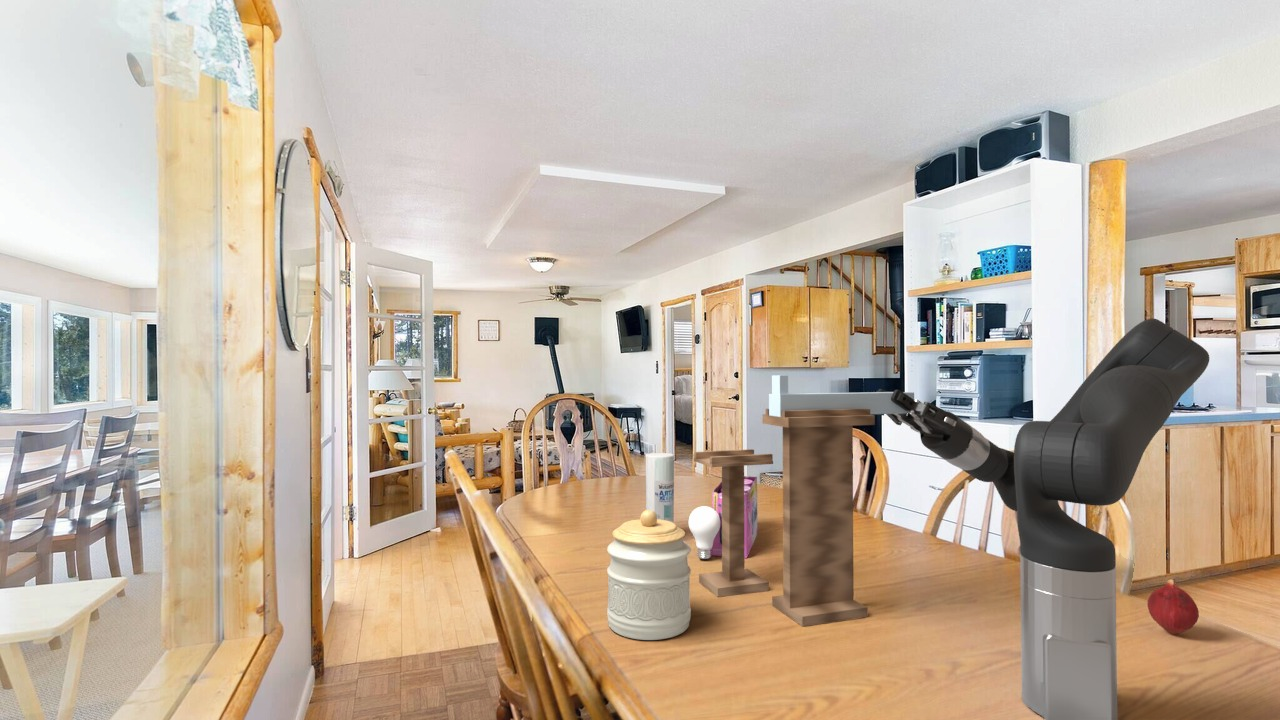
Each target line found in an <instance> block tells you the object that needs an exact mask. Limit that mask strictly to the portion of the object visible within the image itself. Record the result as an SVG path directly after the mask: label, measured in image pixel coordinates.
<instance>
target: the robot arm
mask: <svg viewBox="0 0 1280 720" xmlns="http://www.w3.org/2000/svg"><path fill="white" fill-rule="evenodd" d="M1209 363H1210V355H1209V352H1208V351H1207V350H1206V349H1205V348H1204V347H1203V346H1201V344H1199V343H1197V342H1196V341H1194V340H1193V339H1191V338H1190V337H1188V336H1186V335H1184V334H1183V333H1181V332H1180V331H1178V330H1177V329H1174V328H1173V327H1172V326H1170V325H1168V324H1167V323H1166V322H1165V323H1164V322H1163V321H1161V320H1159V319H1157V318H1146V319H1145V320H1143V321H1141V322H1139V323H1138V324H1136V325H1135V326H1134V327H1132V328H1131V329H1130V330H1129V331H1128V332H1126V334H1125V335H1123V337H1122V338H1120V339H1119V340H1118V341H1117V343H1116V344H1115V345H1114V346H1113V347H1112V348H1111V349H1110V350H1109V351H1108V353H1107V354H1106V355H1105V356H1104V357H1103V358H1102V360H1100V362H1099V363H1098V364H1097V366H1096V367H1095V368H1094V369H1093V370H1092V371H1091V372H1090V374H1089V375H1088V376H1087V377H1086V378H1085V380H1084V381H1083V382H1082V383H1081V384H1080V386H1079V387H1078V389H1076V391H1075V392H1074V394H1072V396H1071V397H1070V398H1069V400H1068V401H1067V402H1066V403H1065V405H1064V406H1063V407H1062V408H1061V409H1060V410H1059V411H1058V413H1057V414H1056V415H1055V416H1054V417H1053V418H1052V419H1051V420H1049V421H1047V420H1031V421H1028V422H1025V423H1024V424H1023V425H1021V427H1020V428H1019V430H1018V432H1017V435H1016V438H1015V440H1014V441H1015V442H1014V446H1013V448H1014V449H1013V451H1010V450H1008V449H1005V448H1001V447H999V446H998V445H997V444H995V443H993V442H992V441H990V440H989V439H988V438H986V437H985V436H984V435H983V434H982V433H981V432H980V431H978V430H977V428H975V427H973V426H972V425H970V424H969V423H967V422H966V421H964V420H963V419H962V418H961V417H959V416H957V415H956V414H954V413H953V412H951V411H947V410H945V409H943V408H940V407H938V406H936V405H935V404H933V403H930V401H924V402H922V401H921V400H919V399H916V398H914V399H912V398H911V397H909V396H908V395H906V394H905V393H903V392H904V391H902V390H901V389H895V390H894V391H892V392H893V395H892V397H891V401H892V402H894V403H895V404H897V405H898V406H900V407H901V408H903V409H904V410H905V411H909V412H908V413H901V414H885V415H886V416H887V417H888V418H889V419H890V420H891V421H892V422H893V423H894V424H895V425H897V426H902V424H905V425H906V426H908V427H909V428H910V430H912V431H914V432H916V433H918V434H919V435H920V441H921V444H922V446H923V447H925V448H927V450H929V451H931V452H932V453H934V454H935V455H937V456H938V457H940V458H942V459H943V460H945V461H946V462H947V463H949V464H951V465H952V466H954V467H957V468H959V469H961V470H962V471H963V472H965V473H966V474H968V475H969V476H971V477H972V478H974V479H976V480H978V481H980V482H984V483H992V482H993V484H994V487H995V488H996V491H997V493H998V494H999V497H1000V498H1001V500H1002V502H1003V504H1004V505H1005V506H1006V507H1007V508H1008V509H1010V510H1012V511H1014V512H1016V515H1017V516H1016V517H1017V518H1016V519H1017V520H1016V522H1017V524H1016V525H1017V532H1018V538H1019V545H1020V546H1019V548H1020V550H1019V551H1020V552H1019V553H1020V554H1019V556H1020V557H1019V558H1020V570H1019V571H1020V583H1019V584H1020V657H1021V658H1020V660H1021V661H1020V662H1021V663H1020V665H1021V699H1022V701H1023V703H1024V704H1025V705H1026V707H1027V708H1028V709H1030V710H1032V711H1033V712H1035V713H1037V714H1038V715H1039V716H1041V717H1042V718H1043V719H1044V720H1118V676H1117V675H1118V673H1117V672H1118V670H1117V669H1118V668H1117V667H1118V664H1117V663H1118V662H1117V661H1118V660H1117V659H1118V657H1117V581H1116V580H1117V577H1116V576H1117V574H1116V573H1117V572H1116V571H1117V570H1116V569H1117V567H1116V564H1117V563H1116V557H1117V553H1116V548H1115V544H1114V542H1112V540H1111V539H1110V538H1108V537H1107V536H1105V535H1104V534H1102V533H1099V532H1098V531H1096V530H1093V529H1091V528H1089V527H1087V526H1085V525H1083V524H1082V523H1080V522H1078V521H1077V520H1075V519H1074V518H1072V517H1071V516H1070V515H1069V514H1068V513H1066V512H1065V511H1064V510H1063V509H1062V507H1061V506H1060V503H1059V502H1065V503H1072V504H1081V505H1089V506H1096V507H1097V506H1099V507H1100V506H1103V507H1104V506H1111V505H1113V504H1116V503H1118V502H1119V501H1120V500H1121V499H1122V498H1123V497H1124V496H1125V495H1126V493H1127V492H1128V491H1129V488H1130V486H1131V484H1132V481H1133V479H1134V476H1135V474H1136V472H1137V470H1138V467H1139V465H1140V462H1141V461H1142V457H1143V455H1144V453H1145V452H1146V449H1147V448H1148V446H1149V445H1150V443H1151V441H1152V440H1153V438H1155V436H1156V435H1157V433H1158V432H1159V431H1160V430H1161V429H1162V428H1163V426H1164V424H1165V423H1166V421H1167V420H1168V419H1169V417H1170V416H1171V413H1173V410H1174V408H1175V406H1176V405H1177V404H1178V401H1179V400H1180V398H1181V397H1182V396H1183V395H1184V394H1185V393H1186V392H1187V390H1189V389H1190V387H1192V386H1193V385H1194V383H1196V382H1197V380H1198V379H1199V378H1200V377H1201V376H1202V375H1203V374H1204V372H1205V371H1206V369H1207V368H1208V366H1209ZM876 392H888V391H887V390H885V389H881V388H879V389H878V390H877V391H876Z"/></svg>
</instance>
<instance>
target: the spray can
mask: <svg viewBox="0 0 1280 720" xmlns="http://www.w3.org/2000/svg"><path fill="white" fill-rule="evenodd" d="M674 479H675V456H674V454H673V453H669V452H652V453H651V452H650V453H646V454H645V510H652V511H654V512H655V513H656V515H657V519H660V520H666V521H670V522H673V523H674V524H675V522H674V517H675V516H674V514H675V513H674V510H675V504H674V503H675V501H674V499H675V498H674V497H675V494H674V493H675V492H674V491H675V489H674V488H675V480H674Z"/></svg>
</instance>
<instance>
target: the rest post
mask: <svg viewBox="0 0 1280 720" xmlns="http://www.w3.org/2000/svg"><path fill="white" fill-rule="evenodd" d="M693 453H694V454H693V455H694V458H693V462H696V463H699V464H702V465H705V466H707V467H709V468H721V482H722V556H721V571H716V572H714V571H713V572H705V573H699V574H698V583H699V584H701V586H703V587H704V588H706V589H707V590H708V591H709V592H711V593H712V594H713V595H715V596H716V597H717V598H721V597H728V596H729V597H730V596H737V595H745V594H753V593H762V592H768V591H769V590H770V589H769V588H770V585H769V584H770V582H769V581H768V580H766V579H765V578H763V577H761V576H760V575H758V574H756V573H755V572H753V571H752V570H750V569H748V568H745V558H744V476H745V466H762V465H764V466H765V465H773V464H774V460H773V458H774V457H773V456H774V455H773V453H761V454H760V453H759V454H755V449H730V450H711V451H710V450H709V451H708V450H707V451H694V452H693Z"/></svg>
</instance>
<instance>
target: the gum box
mask: <svg viewBox="0 0 1280 720" xmlns="http://www.w3.org/2000/svg"><path fill="white" fill-rule="evenodd" d="M711 496H712V498H711V499H712V502H711V503H712V504H711V508H712V509H714V510H715V511H716V512H717V513H718V515H719V517H720V522H721V524H720V529H719V531H718V533H717V534H716V536H715V538H714V541H713V546H712V548H711V550H712V551H711V552H712V553H711V554H712V555H711V556H716V557H722V481H720V483H718V485H717V486H716V487H715V488H714V489H713V491H712V495H711ZM758 529H759V527H758V476H750V475H749V476H745V475H744V559H748V558H749V557H748V556H749V554H750V552H751V549H752V548H753V545H754V543H755V540H756V539H757V536H758V532H759V531H758Z"/></svg>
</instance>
